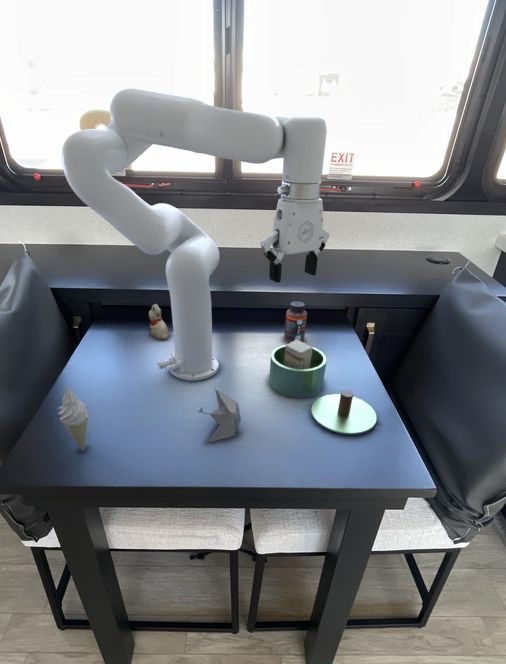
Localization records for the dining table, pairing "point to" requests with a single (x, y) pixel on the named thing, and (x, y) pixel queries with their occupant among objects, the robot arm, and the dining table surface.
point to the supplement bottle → (295, 322)
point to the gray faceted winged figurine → (225, 417)
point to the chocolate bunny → (158, 324)
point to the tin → (297, 375)
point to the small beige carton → (297, 355)
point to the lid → (343, 413)
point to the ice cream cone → (74, 417)
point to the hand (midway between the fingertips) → (292, 277)
